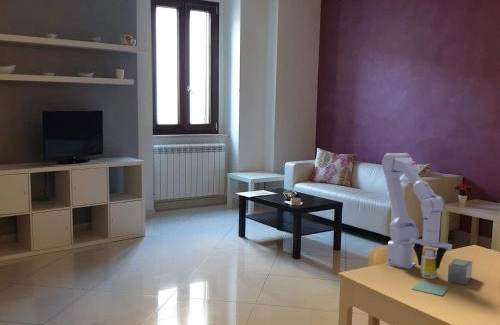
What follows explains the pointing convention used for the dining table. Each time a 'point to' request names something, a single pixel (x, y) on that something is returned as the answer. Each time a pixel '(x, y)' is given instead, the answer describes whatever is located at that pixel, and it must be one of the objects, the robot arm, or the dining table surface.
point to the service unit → (460, 271)
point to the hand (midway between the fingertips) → (428, 266)
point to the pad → (430, 288)
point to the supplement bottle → (428, 263)
